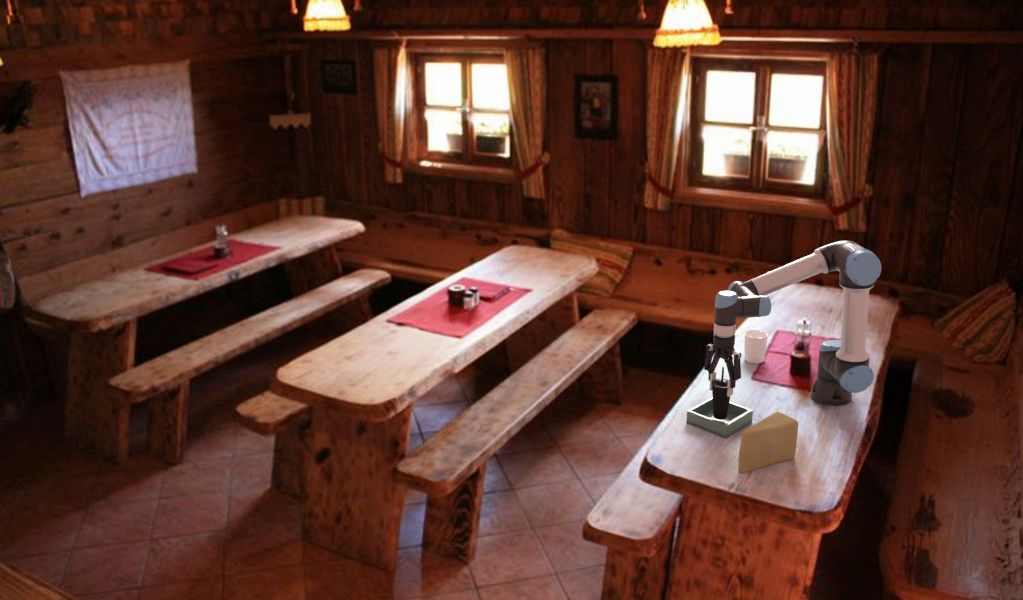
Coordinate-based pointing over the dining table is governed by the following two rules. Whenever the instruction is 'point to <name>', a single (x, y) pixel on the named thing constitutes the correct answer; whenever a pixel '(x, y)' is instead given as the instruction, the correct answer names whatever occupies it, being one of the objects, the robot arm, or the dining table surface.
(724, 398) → the drinking cup
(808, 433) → the dining table surface
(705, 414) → the grey-green shallow box
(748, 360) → the white cup
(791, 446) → the cheese
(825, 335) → the dining table surface
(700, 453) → the dining table surface
